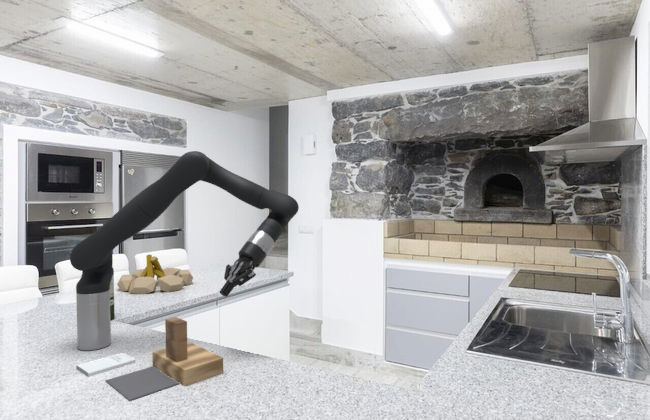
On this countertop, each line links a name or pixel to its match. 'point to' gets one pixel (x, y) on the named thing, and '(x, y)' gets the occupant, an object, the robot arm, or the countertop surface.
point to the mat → (141, 383)
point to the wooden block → (189, 364)
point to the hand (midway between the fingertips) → (222, 294)
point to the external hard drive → (105, 364)
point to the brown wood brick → (176, 339)
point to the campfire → (146, 283)
